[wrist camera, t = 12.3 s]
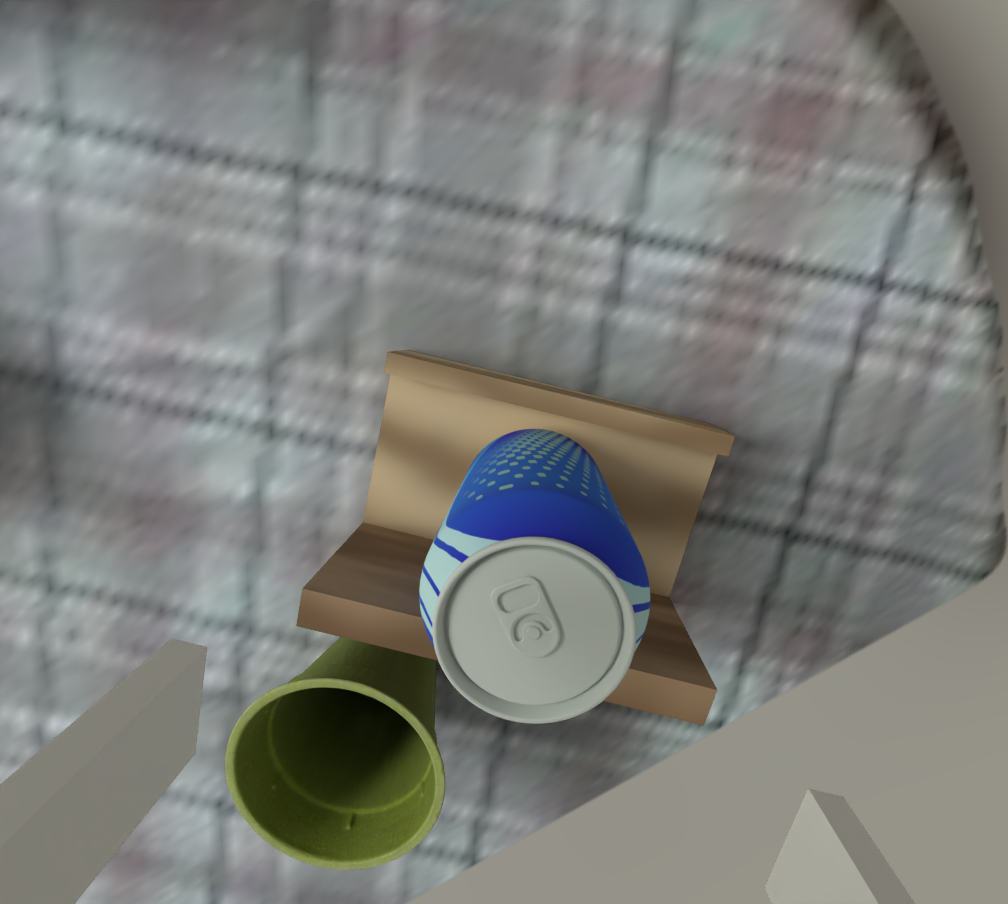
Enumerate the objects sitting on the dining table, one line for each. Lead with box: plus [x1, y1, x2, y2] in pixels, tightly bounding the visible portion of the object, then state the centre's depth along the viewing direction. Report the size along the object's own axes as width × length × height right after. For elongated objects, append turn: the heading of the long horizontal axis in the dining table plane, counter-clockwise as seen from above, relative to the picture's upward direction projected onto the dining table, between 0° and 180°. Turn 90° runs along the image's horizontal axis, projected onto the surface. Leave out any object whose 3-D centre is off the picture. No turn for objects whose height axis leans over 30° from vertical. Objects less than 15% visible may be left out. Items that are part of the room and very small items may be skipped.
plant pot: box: [225, 637, 445, 870], centre depth 33 cm, size 12×12×11 cm
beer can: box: [419, 429, 650, 724], centre depth 25 cm, size 8×8×16 cm
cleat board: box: [296, 350, 735, 726], centre depth 30 cm, size 13×20×12 cm, turn 77°
